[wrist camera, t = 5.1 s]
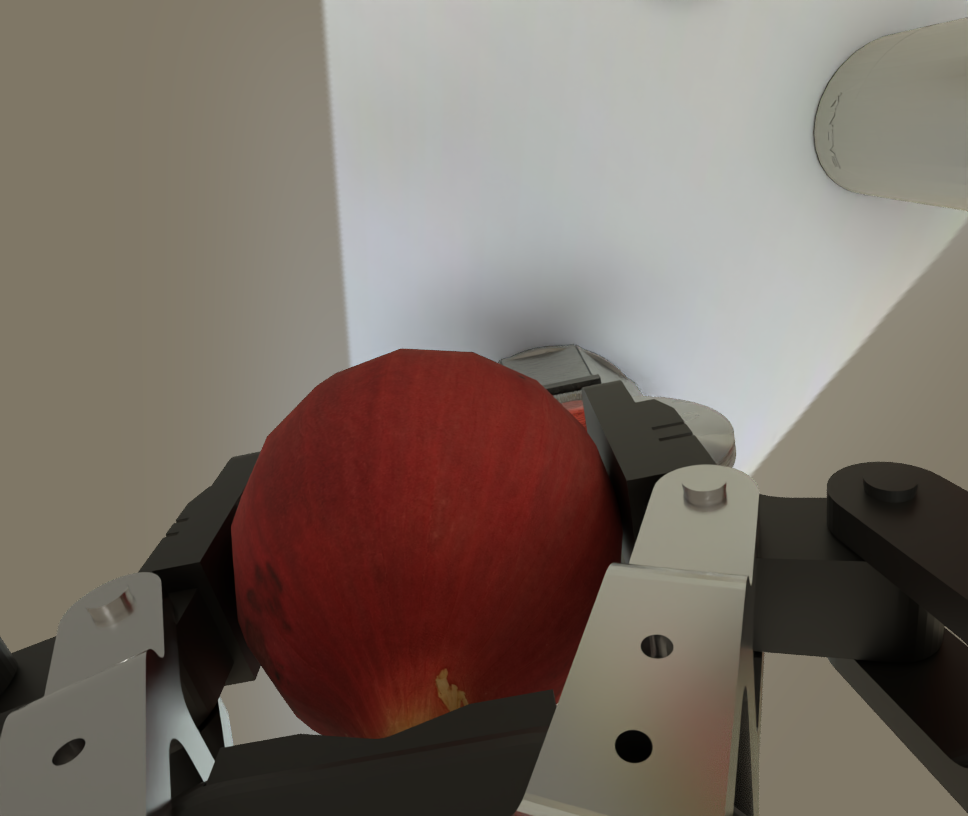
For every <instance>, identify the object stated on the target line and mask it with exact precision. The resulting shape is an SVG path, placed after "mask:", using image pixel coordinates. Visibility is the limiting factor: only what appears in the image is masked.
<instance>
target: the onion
mask: <svg viewBox="0 0 968 816" xmlns="http://www.w3.org/2000/svg"><path fill="white" fill-rule="evenodd" d="M231 535H232V553H233V567H234V579H235V591H236V604H237V616H238V622H239V625H240V627H241V630H242V633H243V635H244V638H245V641H246V643H247V646H248V647H249V649H250V650H251V652H252V653H253V655H254V656H255V658H256V659H257V660H258V662H259V663H260V665H261V666H262V668H263V669H264V670H265V672H266V674H267V675H268V676H269V678H270V679H271V681H272V682H273V684H274V685H275V687H276V688H277V690H278V691H279V693H280V694H281V696H282V697H283V698H284V700H285V701H286V703H287V704H288V705H289V707H290V708H291V710H292V711H293V712H294V714H295V715H296V717H298V718H299V719H300V720H301V721H303V722H304V723H305V724H306V725H307V726H309V727H310V728H311V729H312V730H314V731H316V732H317V733H319V734H321V735H324V736H339V737H354V738H369V739H380V738H385V737H388V736H391V735H394V734H396V733H399V732H401V731H404V730H406V729H409V728H411V727H414V726H416V725H418V724H421V723H423V722H426V721H428V720H431V719H433V718H436V717H438V716H441V715H443V714H446V713H448V712H451V711H453V710H456V709H458V708H461V707H463V706H466V705H468V704H472V703H477V702H483V701H489V700H494V699H500V698H506V697H511V696H517V695H523V694H528V693H534V692H539V691H545V690H551V689H553V691H554V696H555V700H556V704H557V703H558V702H559V699H560V696H561V694H562V691H563V688H564V685H565V683H566V680H567V677H568V675H569V672H570V669H571V666H572V664H573V661H574V658H575V655H576V653H577V650H578V647H579V644H580V642H581V639H582V636H583V633H584V631H585V628H586V625H587V623H588V620H589V617H590V614H591V612H592V609H593V606H594V603H595V601H596V598H597V595H598V592H599V590H600V587H601V584H602V581H603V579H604V576H605V573H606V571H607V569H608V567H609V566H610V564H611V563H613V562H617V563H621V554H622V540H623V528H622V520H621V512H620V508H619V505H618V501H617V497H616V493H615V491H614V488H613V486H612V483H611V481H610V478H609V476H608V473H607V471H606V468H605V466H604V463H603V461H602V459H601V456H600V454H599V451H598V449H597V446H596V444H595V443H594V441H593V440H592V438H591V437H590V435H589V434H588V432H587V431H586V430H585V428H584V427H583V425H582V424H581V423H580V422H579V421H578V420H577V419H576V418H575V417H574V416H573V415H572V414H571V413H570V412H569V411H568V410H567V409H566V408H565V407H564V406H563V405H562V404H561V403H560V402H559V401H557V400H556V399H555V398H554V397H553V396H552V395H551V394H550V393H549V392H548V391H547V390H546V389H545V388H544V387H543V386H542V385H541V384H540V383H539V382H538V381H537V380H535V379H533V378H530V377H528V376H526V375H524V374H521V373H519V372H517V371H515V370H512V369H510V368H508V367H505V366H503V365H501V364H499V363H496V362H494V361H492V360H490V359H487V358H485V357H483V356H480V355H478V354H476V353H474V352H459V351H439V350H419V349H399V350H396V351H393V352H391V353H388V354H385V355H383V356H380V357H377V358H375V359H372V360H369V361H367V362H364V363H361V364H359V365H356V366H354V367H351V368H348V369H346V370H343V371H341V372H338V373H336V374H334V375H332V376H331V377H329V378H328V379H326V380H325V381H323V382H322V383H320V384H319V385H317V386H316V387H315V388H314V389H313V390H312V391H311V392H310V393H309V394H308V395H307V396H306V397H305V398H304V399H303V400H302V402H300V403H299V404H298V405H297V407H296V408H295V409H294V410H293V411H292V412H291V413H290V414H289V415H288V416H287V417H286V418H285V419H284V420H283V421H282V422H281V423H280V424H279V425H278V426H277V427H276V428H275V429H274V430H273V431H272V432H271V433H270V434H269V435H268V436H267V438H266V441H265V443H264V445H263V447H262V450H261V452H260V454H259V457H258V459H257V461H256V464H255V466H254V468H253V471H252V473H251V475H250V478H249V480H248V482H247V484H246V487H245V489H244V491H243V494H242V496H241V499H240V502H239V505H238V508H237V511H236V514H235V516H234V519H233V522H232V525H231Z"/></svg>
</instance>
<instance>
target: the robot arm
mask: <svg viewBox="0 0 968 816" xmlns="http://www.w3.org/2000/svg"><path fill="white" fill-rule="evenodd" d="M814 136H815V146H816V151H817V154H818V157H819V160H820V163H821V165H822V167H823V168H824V170H825V171H826V173H827V175H828V176H829V177H830V178H831V179H832V180H833V181H834V182H836V183H837V184H838V185H839V186H841V187H843V188H845V189H847V190H849V191H851V192H855V193H860V194H864V195H870V196H877V197H883V198H890V199H895V200H900V201H907V202H913V203H919V204H926V205H932V206H939V207H945V208H951V209H958V210H964V211H968V17H967V18H963V19H958V20H954V21H949V22H945V23H939V24H935V25H930V26H926V27H922V28H917V29H913V30H909V31H904V32H900V33H896V34H891V35H887V36H884V37H881V38H879V39H877V40H875V41H872V42H870V43H868V44H867V45H865V46H864V47H862V48H861V49H860V50H858V51H857V52H855V53H854V54H853V55H852V56H851V57H850V58H849V59H848V60H847V61H846V62H845V63H844V64H843V65H842V66H841V67H840V68H839V69H838V71H837V72H836V73H835V75H834V76H833V78H832V79H831V81H830V82H829V84H828V86H827V88H826V90H825V92H824V94H823V96H822V98H821V101H820V104H819V108H818V111H817V115H816V121H815V131H814ZM582 401H583V407H584V414H585V420H586V427H587V432H588V434H589V435H590V437H591V438H592V440H593V441H594V443H595V444H596V446H597V449H598V451H599V454H600V456H601V459H602V461H603V463H604V466H605V468H606V471H607V473H608V476H609V478H610V481H611V483H612V486H613V488H614V491H615V493H616V497H617V501H618V505H619V508H620V512H621V520H622V528H623V540H622V554H623V557H624V559H625V562H626V563H617V562H613V563H611V564H610V566H609V567H608V569H607V571H606V573H605V576H604V579H603V581H602V584H601V587H600V590H599V592H598V595H597V598H596V601H595V603H594V606H593V609H592V612H591V614H590V617H589V620H588V623H587V625H586V628H585V631H584V633H583V636H582V639H581V642H580V644H579V647H578V650H577V653H576V655H575V658H574V661H573V664H572V666H571V669H570V672H569V675H568V677H567V680H566V683H565V685H564V688H563V691H562V694H561V696H560V699H559V702H558V705H556V700H555V696H554V691H553V689H551V690H545V691H539V692H534V693H528V694H523V695H517V696H511V697H506V698H500V699H494V700H489V701H483V702H477V703H472V704H468V705H466V706H463V707H461V708H458V709H456V710H453V711H451V712H448V713H446V714H443V715H441V716H438V717H436V718H433V719H431V720H428V721H426V722H423V723H421V724H418V725H416V726H414V727H411V728H409V729H406V730H404V731H401V732H399V733H396V734H394V735H391V736H388V737H385V738H380V739H369V738H354V737H339V736H324V735H309V734H297V735H292V736H286V737H280V738H274V739H269V740H263V741H257V742H252V743H246V744H240V745H235V746H233V740H232V734H231V728H230V722H229V716H228V712H227V710H226V707H225V705H224V703H223V701H222V699H221V697H220V694H221V692H222V690H223V687H224V686H226V685H232V684H237V683H243V682H248V681H254V680H255V679H256V676H257V674H258V671H259V669H260V666H261V665H260V663H259V662H258V660H257V659H256V658H255V656H254V655H253V653H252V652H251V650H250V649H249V647H248V646H247V643H246V641H245V638H244V635H243V633H242V630H241V627H240V625H239V622H238V616H237V604H236V591H235V579H234V567H233V553H232V535H231V525H232V522H233V519H234V516H235V514H236V511H237V508H238V505H239V502H240V499H241V496H242V494H243V491H244V489H245V487H246V484H247V482H248V480H249V478H250V475H251V473H252V471H253V468H254V466H255V464H256V461H257V459H258V457H259V454H260V452H261V451H260V452H256V453H251V454H246V455H241V456H236V457H233V458H231V459H230V460H229V461H228V463H227V464H226V466H225V467H224V469H223V470H222V471H221V473H220V474H219V476H218V477H217V479H216V480H215V481H214V483H213V484H212V486H210V487H208V488H207V489H206V490H205V491H203V492H202V493H201V494H199V495H198V496H197V497H196V498H194V499H193V500H192V501H191V502H189V503H188V504H187V506H186V507H185V509H184V510H183V511H182V513H181V514H180V515H179V517H178V518H177V520H176V523H174V524H173V525H172V526H171V528H170V529H169V531H168V532H167V533H166V537H165V538H163V539H162V540H161V541H160V543H159V544H158V546H157V547H156V548H155V550H154V551H153V552H152V554H151V555H150V557H149V558H148V559H147V561H146V562H145V564H144V565H143V566H142V568H141V569H140V571H139V572H138V573H133V574H129V575H125V576H122V577H119V578H116V579H113V580H111V581H109V582H107V583H105V584H103V585H101V586H99V587H97V588H95V589H94V590H92V591H90V592H89V593H88V594H86V595H85V596H83V597H82V598H80V599H79V600H78V601H77V602H76V603H74V604H73V605H72V606H71V607H70V608H69V609H68V610H67V612H66V613H65V614H64V615H63V617H62V619H61V620H60V623H59V626H58V630H57V635H56V636H55V637H53V638H50V639H48V640H45V641H42V642H40V643H37V644H35V645H32V646H29V647H27V648H24V649H21V650H19V651H16V652H14V653H11V652H10V651H9V649H8V648H7V646H6V645H5V643H4V642H3V640H2V639H1V637H0V816H759V756H760V755H759V754H760V734H761V715H762V695H763V694H762V693H763V675H764V656H765V655H764V654H765V652H771V653H783V654H796V655H807V656H819V657H828V659H829V661H830V663H831V664H832V665H833V666H834V668H835V669H836V670H837V671H838V672H839V673H840V674H841V675H842V677H843V678H844V679H845V680H846V681H847V682H848V683H849V684H850V685H851V686H852V687H853V689H854V690H855V691H856V692H857V693H858V694H859V695H860V696H861V697H862V698H863V699H864V701H865V702H866V703H867V704H868V705H869V706H870V707H871V708H872V709H873V710H874V712H875V713H876V714H877V715H878V716H879V717H880V718H881V719H882V720H883V721H884V722H885V724H886V725H887V726H888V727H889V728H890V729H891V730H892V731H893V732H894V733H895V734H896V736H897V737H898V738H899V739H900V740H901V741H902V742H903V743H904V744H905V745H906V746H907V748H908V749H909V750H910V751H911V752H912V753H913V754H914V755H915V756H916V757H917V758H918V760H919V761H920V762H921V763H922V764H923V765H924V766H925V767H926V768H927V769H928V771H929V772H930V773H931V774H932V775H933V776H934V777H935V778H936V779H937V780H938V781H939V782H940V784H941V785H942V786H943V787H944V788H945V789H946V790H947V791H948V792H949V793H950V795H951V796H952V797H953V798H954V799H955V800H956V801H957V802H958V803H959V804H960V805H961V806H962V807H963V809H964V810H965V811H966V812H967V813H968V647H967V646H966V645H965V644H964V643H963V642H961V641H960V640H959V639H958V638H957V637H955V636H954V635H953V634H952V633H950V632H949V631H948V630H947V629H945V628H944V626H946V627H947V628H948V629H950V630H951V631H952V632H953V633H954V634H956V635H957V636H958V637H959V638H961V639H962V640H963V641H964V642H965V643H966V644H967V645H968V491H966V490H964V489H962V488H961V487H959V486H957V485H955V484H954V483H952V482H950V481H948V480H946V479H945V478H943V477H941V476H939V475H937V474H935V473H933V472H931V471H928V470H925V469H922V468H919V467H916V466H912V465H907V464H902V463H893V462H867V463H860V464H855V465H851V466H848V467H845V468H843V469H841V470H839V471H837V472H836V473H834V474H833V475H832V476H831V477H830V479H829V480H828V483H827V498H783V497H772V496H766V495H761V494H759V488H758V485H757V483H756V482H755V481H754V479H752V478H751V477H750V476H749V475H747V474H745V473H744V472H742V471H739V470H737V469H734V468H730V467H726V466H720V465H717V464H716V462H715V461H714V460H713V458H712V457H711V456H710V454H709V453H708V452H707V451H706V449H705V448H704V447H703V445H702V444H701V443H700V441H699V440H698V439H697V437H696V436H695V435H693V433H692V431H691V430H690V428H689V427H688V426H687V424H685V423H684V420H683V419H682V418H681V416H680V415H679V414H678V412H677V411H676V410H675V409H674V408H673V407H671V406H669V405H667V404H664V403H662V402H660V401H658V400H656V399H651V400H646V401H641V402H636V403H635V401H634V400H633V398H632V396H631V395H630V393H629V392H628V390H627V389H626V387H625V385H624V384H623V382H622V381H621V380H617V381H612V382H607V383H602V384H597V385H592V386H587V387H582Z"/></svg>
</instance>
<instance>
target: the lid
mask: <svg viewBox="0 0 968 816" xmlns="http://www.w3.org/2000/svg"><path fill="white" fill-rule="evenodd" d="M552 396H553V397H554V398H555V399H556V400H557V401H559V402H560V403H561V404H562V405H563V406H564V407H565V408H566V409H567V410H568V411H569V412H570V413H571V414H572V415H573V416H574V417H575V418H576V419H577V420H578V421H579V422H580V423H581V424H582V425H583V427H584V428H585V430H586V431H587V427H586V420H585V414H584V407H583V401H582V390H577V391H572V392H567V393H562V394H557V395H552ZM632 398H633V400H634V401H635V403H636V402H641V401H646V400H651V399H656V400H658V401H660V402H662V403H664V404H667V405H669V406H671V407H673V408H674V409H675V410H676V411H677V412H678V414H679V415H680V416H681V418H682V419H683V420H684V423H685V424H687V426H688V427H689V428H690V430H691V431H692V433H693V435H695V436H696V437H697V439H698V440H699V441H700V443H701V444H702V445H703V447H704V448H705V449H706V451H707V452H708V453H709V454H710V456H711V457H712V458H713V460H714V461H715V462H716V464H717V465H720V466H726V467H730V468H732V467H733V465H734V463H735V459H736V447H735V438H734V429H733V427H732V425H731V423H730V421H729V420H728V419H727V418H726V417H725V416H723V415H722V414H720V413H719V412H717V411H716V410H714V409H711V408H709V407H707V406H704V405H701V404H698V403H695V402H690V401H685V400H680V399H673V398H665V397H651V396H632ZM621 563H626V562H625V559H624V557H623V554H621Z"/></svg>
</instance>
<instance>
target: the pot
mask: <svg viewBox="0 0 968 816" xmlns="http://www.w3.org/2000/svg"><path fill="white" fill-rule="evenodd" d="M501 360H502V362H501V361H499V362H498V363H499V364H501V365H503V366H505V367H508V368H510V369H512V370H515V371H517V372H519V373H521V374H524V375H526V376H528V377H530V378H533V379H535V380H537V381H538V382H539V383H540V384H541V385H542V386H543V387H544V388H545V389H546V390H547V391H548V392H549V393H550V394H551V395H557V394H562V393H567V392H572V391H577V390H582V387H587V386H592V385H597V384H602V383H607V382H612V381H617V380H621V381H622V382H623V384H624V385H625V387H626V389H627V390H628V392H629V393H630V395H631V396H643V395H642V393H641V392H640V391H639V389H638V388H637V386H636V385H635V383H634V382H633V381H631V380H630V379H628V378H627V377H626V376H625V375H624V374H623V373H622V372H621V371H620V370H619V369H618V368H617V367H616V366H615V365H613V364H612V363H611V362H609V361H608V360H607V359H605V358H603V357H601V356H599V355H598V354H595V353H592V352H590V351H587V350H584V349H582V348H580V347H579V346H577V345H575V346H574V344H572V345H567V346H546V347H539V348H534V349H530V350H527V351H523V352H521V353H519V354H516V355H514V356H512V357H510V358H505V359H501Z"/></svg>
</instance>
